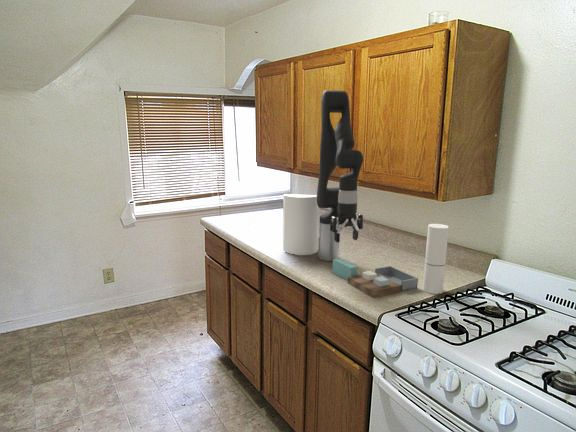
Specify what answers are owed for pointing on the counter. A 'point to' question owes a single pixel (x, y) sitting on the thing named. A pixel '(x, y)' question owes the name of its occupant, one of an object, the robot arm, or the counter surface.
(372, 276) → the white tile
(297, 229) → the cylinder
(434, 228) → the cylindrical container
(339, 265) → the mint green rectangular block
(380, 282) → the blue tile
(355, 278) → the board
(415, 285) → the tray
